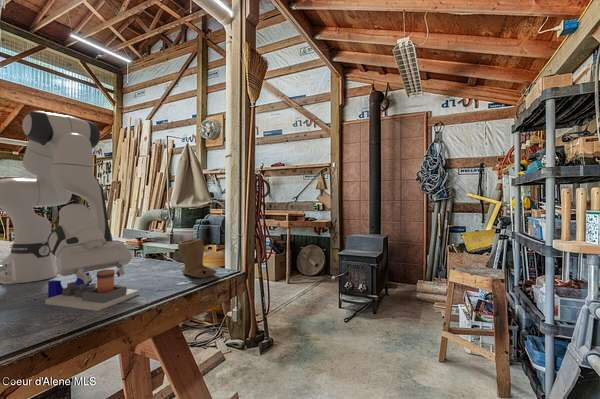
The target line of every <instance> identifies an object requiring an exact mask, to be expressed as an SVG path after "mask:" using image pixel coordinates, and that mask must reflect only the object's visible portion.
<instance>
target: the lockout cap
mask: <svg viewBox="0 0 600 399" xmlns="http://www.w3.org/2000/svg"><path fill="white" fill-rule="evenodd" d="M115 275H116V274H115V269H100V270H97V272H96V286H97V293H103V294H104V293H107V292H110V291H113V290H114V286H115Z"/></svg>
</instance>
